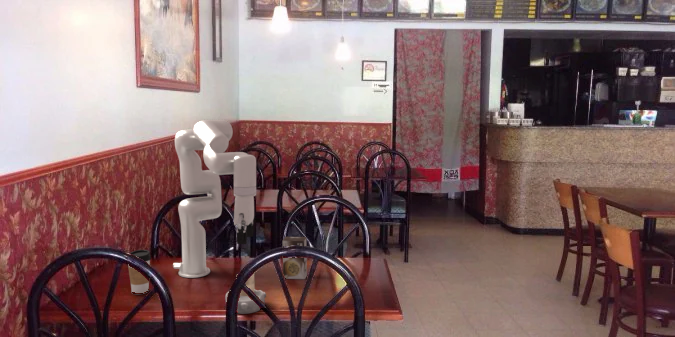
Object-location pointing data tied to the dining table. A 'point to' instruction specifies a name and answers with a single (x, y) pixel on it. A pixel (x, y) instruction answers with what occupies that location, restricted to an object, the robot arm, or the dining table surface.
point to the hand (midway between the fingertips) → (245, 240)
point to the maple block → (248, 285)
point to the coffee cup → (136, 278)
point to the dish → (249, 303)
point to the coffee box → (295, 260)
